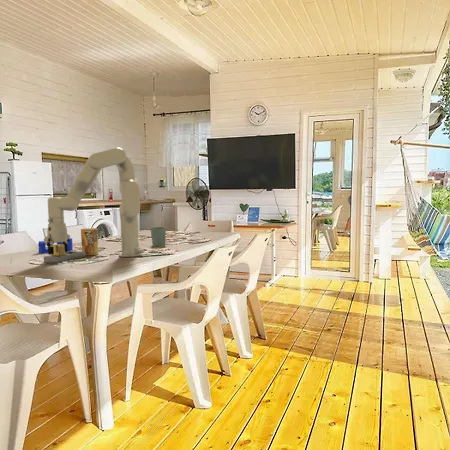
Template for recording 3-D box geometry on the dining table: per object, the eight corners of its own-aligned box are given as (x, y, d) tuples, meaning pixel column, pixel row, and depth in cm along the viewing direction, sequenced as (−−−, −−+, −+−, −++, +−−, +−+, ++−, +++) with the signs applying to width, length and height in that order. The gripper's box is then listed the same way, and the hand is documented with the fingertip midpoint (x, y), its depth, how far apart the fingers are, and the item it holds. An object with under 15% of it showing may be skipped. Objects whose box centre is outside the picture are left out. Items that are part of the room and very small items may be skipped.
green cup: (164, 246, 266) (164, 228, 265) (149, 246, 266) (148, 228, 265) (167, 244, 276) (166, 226, 275) (152, 244, 276) (152, 227, 275)
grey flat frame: (71, 256, 230) (71, 251, 230) (84, 257, 227) (83, 251, 227) (43, 262, 212) (43, 256, 211) (57, 263, 208) (56, 257, 208)
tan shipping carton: (65, 259, 216) (64, 244, 216) (59, 260, 212) (58, 245, 211) (58, 258, 218) (57, 244, 218) (51, 260, 214) (50, 245, 213)
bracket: (69, 249, 261) (68, 237, 260) (75, 250, 255) (74, 238, 254) (37, 253, 248) (36, 240, 247) (43, 254, 241) (42, 241, 240)
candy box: (98, 253, 238) (97, 227, 237) (98, 254, 234) (96, 228, 233) (82, 254, 236) (81, 228, 235) (82, 255, 232) (80, 229, 231)
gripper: (49, 222, 204) (50, 255, 205) (73, 219, 220) (75, 250, 221) (37, 221, 207) (39, 255, 208) (63, 219, 223) (64, 250, 224)
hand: (58, 252), depth 215 cm, fingers open, 9 cm apart
